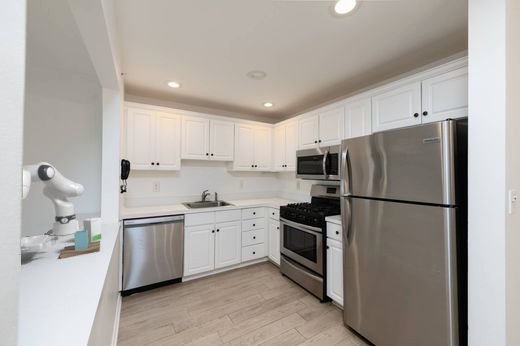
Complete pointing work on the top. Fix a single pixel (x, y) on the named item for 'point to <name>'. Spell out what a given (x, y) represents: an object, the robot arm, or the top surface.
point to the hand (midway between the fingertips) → (56, 240)
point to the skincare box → (93, 229)
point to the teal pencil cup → (81, 239)
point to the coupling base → (71, 251)
